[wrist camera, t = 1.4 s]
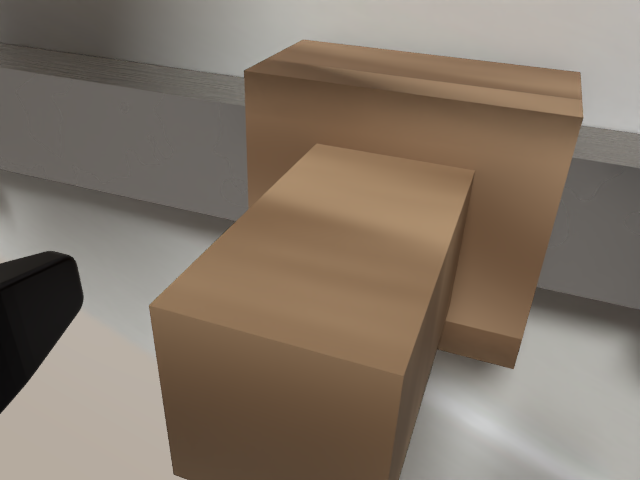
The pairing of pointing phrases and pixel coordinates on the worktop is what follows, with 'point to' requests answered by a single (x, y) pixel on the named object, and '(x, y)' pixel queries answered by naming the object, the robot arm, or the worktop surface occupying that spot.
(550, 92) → the carriage
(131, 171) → the rail
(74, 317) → the robot arm
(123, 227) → the worktop surface
